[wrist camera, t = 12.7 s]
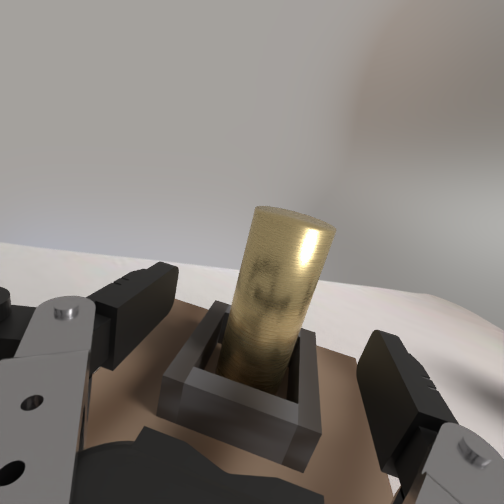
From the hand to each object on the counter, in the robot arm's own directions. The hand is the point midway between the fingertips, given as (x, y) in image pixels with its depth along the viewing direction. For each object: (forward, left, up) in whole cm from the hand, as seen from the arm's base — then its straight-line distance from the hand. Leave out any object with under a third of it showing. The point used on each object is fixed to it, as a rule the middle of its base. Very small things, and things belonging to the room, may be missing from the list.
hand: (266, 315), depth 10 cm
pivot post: (0, +5, -9) cm, 10 cm away
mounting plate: (0, +5, -10) cm, 11 cm away
